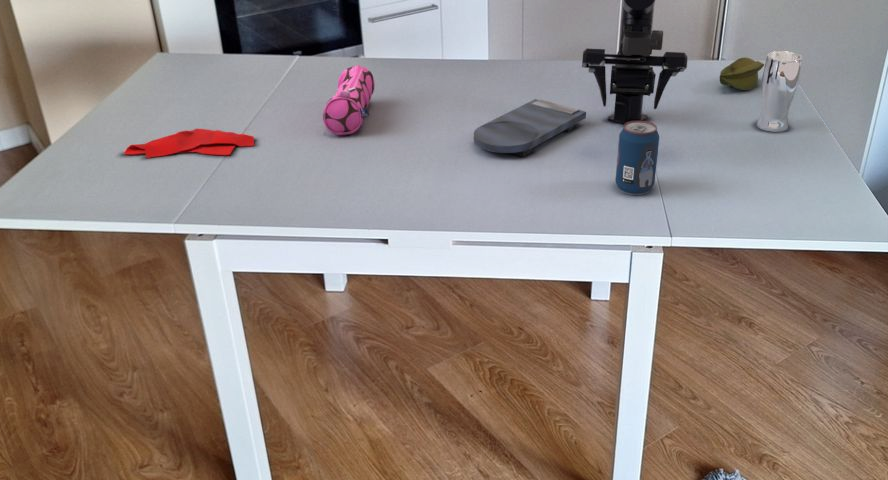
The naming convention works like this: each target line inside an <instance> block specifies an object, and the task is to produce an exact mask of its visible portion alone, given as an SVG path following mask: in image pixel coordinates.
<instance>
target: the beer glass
mask: <svg viewBox="0 0 888 480" xmlns="http://www.w3.org/2000/svg"><path fill="white" fill-rule="evenodd" d="M802 60H803V55H801V54H799V53H797V52H793V51H788V50H787V51H786V50H784V51H783V50H774V51H771V52H769V53H767V55H766V60H765V64H764V67H763V74H762V80H761V110H760V114H759V117H758V120H757V122H756V126H757V128H758V129H760V130H762V131H765V132H769V133H781V132H785V131H787V130H788V129H789V112H790V108H791V105H792V103H793V99H794V98H795V95H796V91H797V89H798V86H799V81H800V77H801V70H802V62H803V61H802Z"/></svg>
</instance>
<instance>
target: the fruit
mask: <svg viewBox="0 0 888 480" xmlns="http://www.w3.org/2000/svg"><path fill="white" fill-rule="evenodd" d="M764 67H765V64H764V63H763V62H762V61H759V60H756V61H755V60H754V59H752V58H750V57H740V58H738V59H736V60H734V61H733V62H732V63H730V64H729V65H727V66H725V67H724V68H723V69H722V70H721V71H720V75H719V84H720V85H723V86H731V87H732V88H734V89H737V90H741V91H750V90H752V89H753V88H755V87H756V86H757V83H758V82H759V72H760V70H762V69H763V68H764Z"/></svg>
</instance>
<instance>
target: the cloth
mask: <svg viewBox="0 0 888 480" xmlns="http://www.w3.org/2000/svg"><path fill="white" fill-rule="evenodd" d="M236 146H238V147H239V148H243V147H246V148H247V147H254V146H255V137H254V136H253V135H249V134H245V133H236V132H233V131H222V130H212V129H205V128H195V129H193V130H182V131H178V132H176V133H173V134H169V135H167V136H163V137H160V138H157V139H153V140H150V141H147V142H145V143H137V144H130V145H128V146H127V147H126V149H125V151H124V153H123V154H124V156H125V155H126V156H134V155H135V156H136V155H145V159H151V158H159V157H165V156H169V155H174V154H177V153H178V154H179V153H180V154H181V153H183V154H184V153H193V154H194V153H197V154H202V155H210V156H231V155H232V153H233V151H234V149H235V148H236Z"/></svg>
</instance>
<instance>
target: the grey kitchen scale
mask: <svg viewBox="0 0 888 480" xmlns="http://www.w3.org/2000/svg"><path fill="white" fill-rule="evenodd" d="M586 118H587V111H585V110H581V109H580V108H576V107H572V106H568V105H564V104H560V103H556V102H552V101H548V100H544V99H537V98H535V99H533V100H530V101H528V102H526V103H524V104H523V105H520V106H518V107H516V108H515V109H512V110H510V111H507V112H506V113H504V114H502V115H500V116H498V117H495V118H494V119H492V120H490V121H488V122H486V123H483V124H482V125H480V126H478V127H477V128H476V129H475V130H474V131H473V143H474V144H475V146H476V147H478V148H480V149H482V150H484V151H488V152H491V153H498V154H514V155H517V156H521V157H524V156H526V155H528V154H530V153H531V149H533V148H535V147H537V146H539V145H540V144H542V143H544V142H546V141H547V140H549V139H551V138H553V137H554V136H557V135H558V134H560V133H562V132H564V131H565V132H570V131H572V130H573V129H575V125H576V124H578V123H581V122H582V121H583V120H586Z"/></svg>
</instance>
